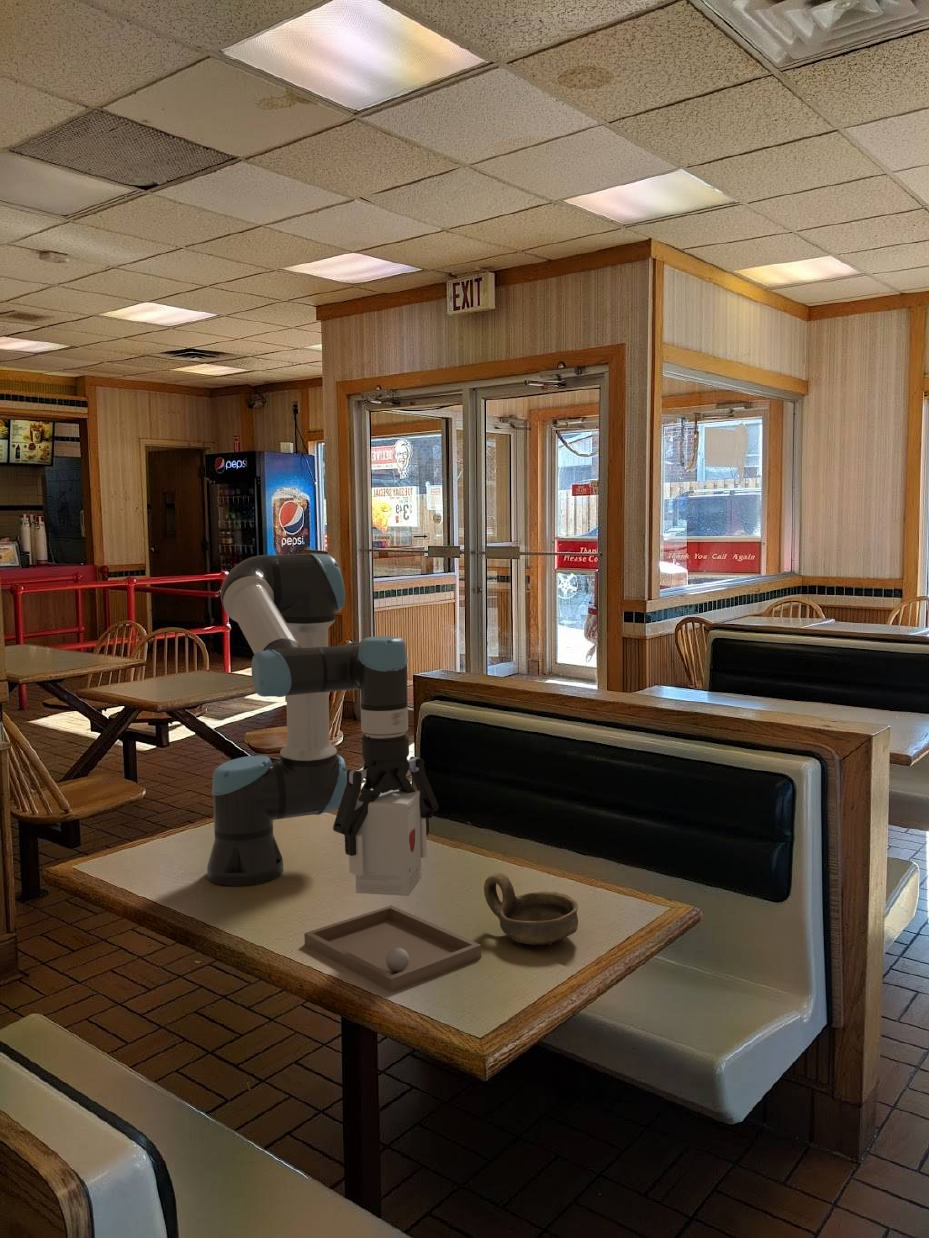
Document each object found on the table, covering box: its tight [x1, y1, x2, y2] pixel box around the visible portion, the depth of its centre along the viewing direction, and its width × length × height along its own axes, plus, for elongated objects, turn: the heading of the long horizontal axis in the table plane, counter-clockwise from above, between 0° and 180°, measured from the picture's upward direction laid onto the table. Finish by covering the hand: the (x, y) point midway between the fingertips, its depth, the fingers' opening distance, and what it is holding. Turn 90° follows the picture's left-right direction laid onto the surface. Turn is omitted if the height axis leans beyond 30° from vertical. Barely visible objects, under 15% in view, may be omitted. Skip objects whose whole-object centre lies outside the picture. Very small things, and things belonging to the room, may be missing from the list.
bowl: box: [483, 872, 579, 946], centre depth 170 cm, size 14×18×10 cm
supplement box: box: [354, 788, 422, 897], centre depth 163 cm, size 9×9×15 cm
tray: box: [303, 904, 483, 993], centre depth 165 cm, size 24×18×2 cm
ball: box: [386, 948, 409, 972], centre depth 157 cm, size 4×4×4 cm
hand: (388, 864), depth 164 cm, fingers closed on supplement box, 12 cm apart
